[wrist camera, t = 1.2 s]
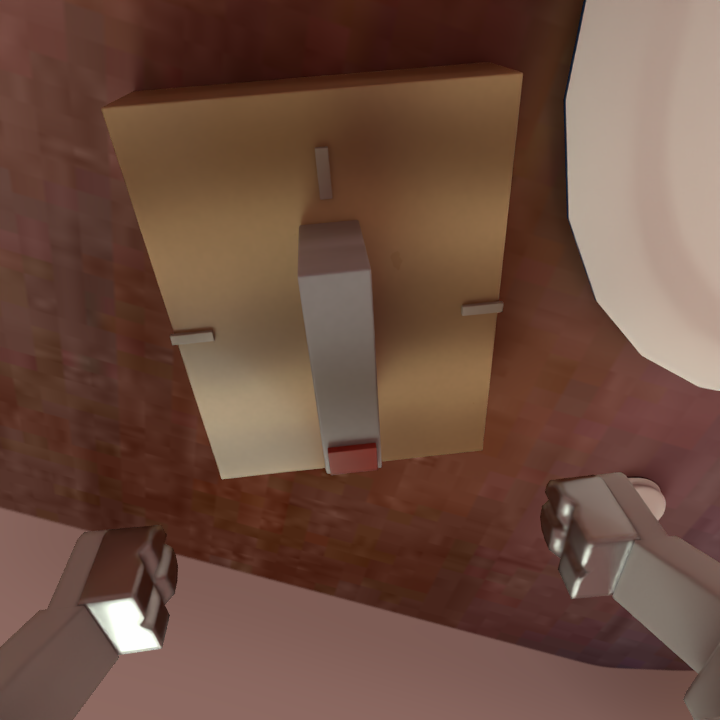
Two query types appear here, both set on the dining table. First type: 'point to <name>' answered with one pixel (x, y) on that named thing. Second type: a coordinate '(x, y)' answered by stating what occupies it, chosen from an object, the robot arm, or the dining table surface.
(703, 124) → the plate
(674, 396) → the dining table surface
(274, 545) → the dining table surface
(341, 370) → the red-tipped grey block
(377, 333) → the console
